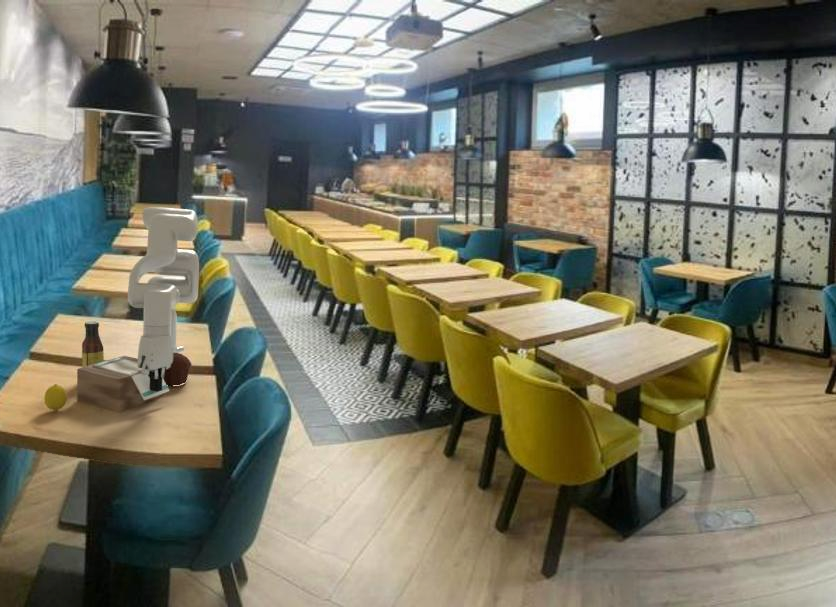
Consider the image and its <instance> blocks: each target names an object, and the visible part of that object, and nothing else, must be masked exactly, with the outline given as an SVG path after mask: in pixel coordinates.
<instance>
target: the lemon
mask: <svg viewBox="0 0 836 607" xmlns="http://www.w3.org/2000/svg"><path fill="white" fill-rule="evenodd" d="M43 399H44V403H45V406H46V407H47V408H48V409H50V410H52V411H54V412H58V411H59V410H60V409H62V408H63V407H65V405H66V403H67V400H68V395H67V391H66V389H65V388H64V387H63V386H61V385H58V384H53V385H51V386H50V387H48V388H47V389H46V391H45V393H44V398H43Z"/></svg>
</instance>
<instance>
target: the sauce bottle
mask: <svg viewBox="0 0 836 607" xmlns="http://www.w3.org/2000/svg"><path fill="white" fill-rule="evenodd" d="M99 327H100V323H99V321H96V320H94V321H93V320H91V321H86V322H84V328H85V334H84V335H85V337H84V340H83V341H82V344H81V349H82V350H81V357H82V359H81V360H82V361H81V363H82V367H86V366H89V365H93V364H96V363H100V362H104V361H105V356H104V354H105V353H104V345H103V343H102V339H101V337H100V333H99ZM82 367H81V368H82Z"/></svg>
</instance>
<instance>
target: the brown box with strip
mask: <svg viewBox="0 0 836 607" xmlns="http://www.w3.org/2000/svg"><path fill="white" fill-rule="evenodd" d="M137 362H138V357H137V358H136V357H133V356H132V357H131V356H128V355H122V356H119V357H115V358H112V359H111V358H110V359H108V360H104V362H100V363H96V364H93V365H89V366H86V367H79V368H77V369H76V371H77V372H76V373H77V374H76V375H77V377H76V379H77V380H76V381H77V382H76V383H77V384H76V385H77V386H76V387H77V389H76V394H77V395H76V396H77V399H76V400H77V402H79V403H80V402H81V403H83V404H84V403H85V404H88V405H91V406H95V407H99V408H103V409H106V410H109V411H112V412H113V411H114V412H117V413H121V412H123V411H126V410H128V409H131V408H133V407H134V408H135V407H137V406H139V405H142V404H144V403H145V404H146V402H150V401H153V400H154V399H157V398H160V397H163V396H164V394H165V393H163V394H160V395H158V396H155V397H152V398H150V399H147V400H144V399H143V397H142V396H141V394H140V392H139V390H138V388H137V386H136V384H135V383H134V381H133V379H132V376H134V375H137V374H140V373H141V370H142V368H138V365H137ZM162 378H163V379H164V377H162ZM162 395H163V396H162Z"/></svg>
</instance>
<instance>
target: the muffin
mask: <svg viewBox="0 0 836 607" xmlns="http://www.w3.org/2000/svg"><path fill="white" fill-rule="evenodd" d="M191 367H192V362H191V360H190V359H189V358H188V356H186V355H184V354H182V353H180V352H178V353H173V362H172V364H171V367H170V368H168V369H167V370H166V371H165V372H164V381H165V383H166V385H168V386H173V385H180V384H182V383H185V382H186V380H187V381H188V376H189V371H190V368H191ZM186 383H187V382H186Z"/></svg>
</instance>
